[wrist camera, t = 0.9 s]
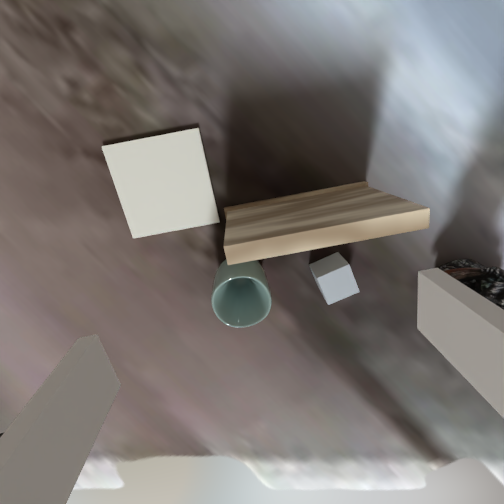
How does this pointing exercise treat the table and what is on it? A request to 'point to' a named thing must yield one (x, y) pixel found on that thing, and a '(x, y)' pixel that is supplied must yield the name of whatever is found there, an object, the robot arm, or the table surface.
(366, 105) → the table surface
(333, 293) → the slate block
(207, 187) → the pad
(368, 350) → the table surface
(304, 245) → the wooden board
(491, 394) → the robot arm
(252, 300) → the cup
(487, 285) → the sculpture
